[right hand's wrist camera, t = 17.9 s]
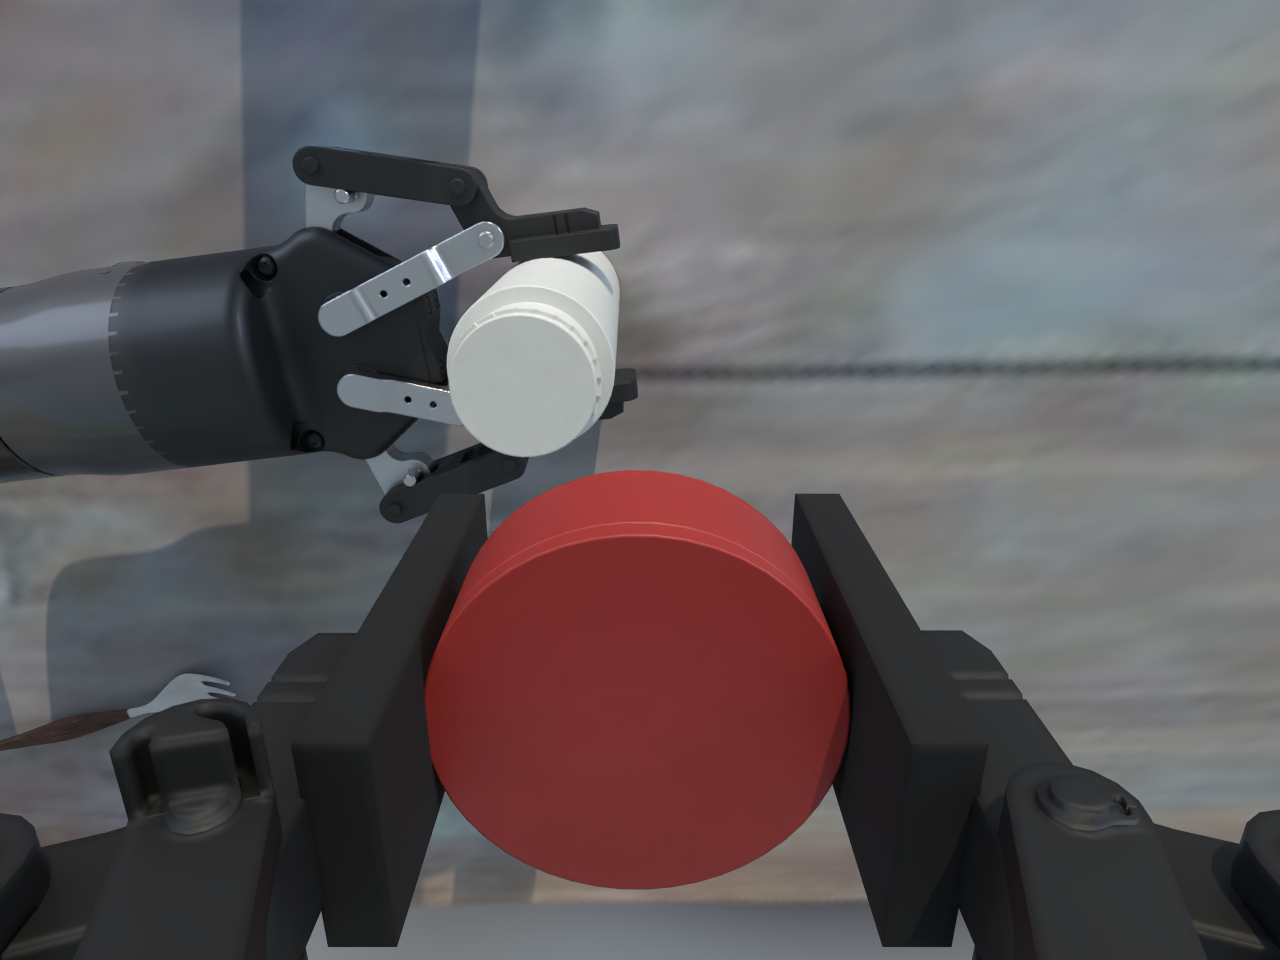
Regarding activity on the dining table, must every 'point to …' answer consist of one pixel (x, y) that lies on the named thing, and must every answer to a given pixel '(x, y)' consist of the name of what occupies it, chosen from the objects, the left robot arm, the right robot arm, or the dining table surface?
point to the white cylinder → (537, 354)
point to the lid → (637, 685)
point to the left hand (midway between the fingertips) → (625, 311)
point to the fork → (118, 713)
